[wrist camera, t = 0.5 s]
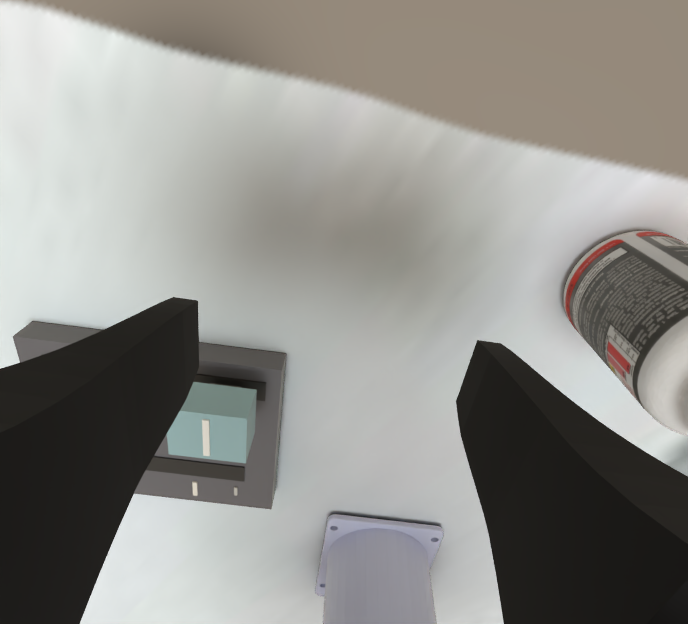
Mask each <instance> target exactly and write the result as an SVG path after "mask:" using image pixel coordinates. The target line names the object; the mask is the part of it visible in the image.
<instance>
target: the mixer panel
mask: <svg viewBox="0 0 688 624" xmlns="http://www.w3.org/2000/svg"><path fill="white" fill-rule="evenodd" d="M100 331H102V330H97V329H89V328H82V327H74V326H66V325H58V324H50V323H42V322H35V321H32V322H31V323H30V324H28V325H27V326H26V327H24V328H23V329H22V330H20V331H19V332H18V333H17V334H15V335H14V336H13V339H14V342H15V346H16V349H17V353H18V356H19V360H20V363H21V362H24V361H26V360H29V359H32V358H35V357H38V356H41V355H44V354H47V353H49V352H52V351H55V350H57V349H60V348H63V347H65V346H68V345H70V344H72V343H75V342H77V341H79V340H81V339H84V338H86V337H88V336H91V335H93V334H95V333H98V332H100ZM285 364H286V354H285V353H278V352H270V351H262V350H254V349H246V348H238V347H231V346H223V345H215V344H207V343H199V369H198V371H197V374H196V376H195V379H194V382H199V383H207V384H210V383H216V384H224V385H232V386H240V387H241V388H247V389H255V390H257V394H256V418H255V434H254V437H253V441H252V444H251V447H250V451H249V454H248V458H247V461H246V463H238V462H229V461H221V460H213V459H204V458H196V457H187V456H179V455H170V454H169V452H168V442H167V434H166V436H165V438H164V439H163V441H162V443H161V445H160V446H159V448H158V450H157V451H156V453H155V455H154V457H153V458H152V460H151V462H150V464H149V465H148V467H147V469H146V470H145V472H144V474H143V476H142V478H141V480H140V482H139V484H138V486H137V488H136V490H135V492H134V494H143V495H152V496H161V497H169V498H178V499H187V500H195V501H204V502H213V503H221V504H230V505H239V506H248V507H256V508H265V509H271V508H272V503H273V499H274V494H275V488H276V475H277V463H278V451H279V438H280V426H281V413H282V401H283V389H284V376H285Z"/></svg>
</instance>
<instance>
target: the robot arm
mask: <svg viewBox="0 0 688 624" xmlns="http://www.w3.org/2000/svg"><path fill="white" fill-rule="evenodd" d="M198 369H199V333H198V301H196V300H189V299H182V298H175V297H173V298H170V299H168V300H165V301H163V302H161V303H159V304H157V305H154V306H152V307H150V308H148V309H146V310H144V311H142V312H140V313H138V314H136V315H134V316H132V317H130V318H128V319H126V320H124V321H121V322H119V323H117V324H115V325H113V326H111V327H109V328H107V329H105V330H102V331H100V332H98V333H95V334H93V335H91V336H88V337H86V338H84V339H81V340H79V341H77V342H75V343H72V344H70V345H68V346H65V347H63V348H60V349H57V350H55V351H52V352H49V353H47V354H44V355H41V356H38V357H35V358H32V359H29V360H26V361H24V362H21V363H18V364H14V365H11V366H8V367H5V368H1V369H0V624H80V621H81V618H82V616H83V613H84V611H85V608H86V606H87V603H88V601H89V598H90V596H91V593H92V591H93V588H94V585H95V583H96V580H97V578H98V575H99V573H100V570H101V568H102V566H103V563H104V561H105V559H106V556H107V554H108V551H109V549H110V547H111V544H112V542H113V539H114V537H115V535H116V532H117V530H118V528H119V525H120V523H121V521H122V519H123V516H124V514H125V512H126V510H127V507H128V505H129V503H130V501H131V498H132V496H133V494H134V492H135V490H136V488H137V486H138V484H139V482H140V480H141V478H142V476H143V474H144V472H145V470H146V469H147V467H148V465H149V464H150V462H151V460H152V458H153V457H154V455H155V453H156V451H157V450H158V448H159V446H160V445H161V443H162V441H163V439H164V438H165V436H166V434H167V432H168V431H169V429H170V427H171V425H172V424H173V422H174V420H175V418H176V417H177V415H178V413H179V411H180V410H181V408H182V406H183V404H184V402H185V401H186V399H187V396H188V394H189V391H190V389H191V387H192V384H193V382H194V379H195V376H196V374H197V371H198ZM456 404H457V412H458V420H459V426H460V433H461V437H462V441H463V445H464V448H465V452H466V455H467V459H468V462H469V466H470V469H471V472H472V476H473V479H474V483H475V486H476V489H477V493H478V496H479V499H480V503H481V506H482V510H483V513H484V517H485V521H486V525H487V529H488V533H489V538H490V543H491V549H492V554H493V560H494V565H495V570H496V576H497V582H498V589H499V595H500V601H501V608H502V614H503V620H504V624H688V477H687V476H686V475H684V474H682V473H680V472H679V471H677V470H675V469H673V468H671V467H670V466H668V465H666V464H664V463H663V462H661V461H659V460H658V459H656V458H654V457H653V456H651V455H649V454H648V453H646V452H644V451H643V450H641V449H640V448H638V447H637V446H635V445H634V444H632V443H630V442H629V441H627V440H626V439H624V438H623V437H621V436H620V435H618V434H617V433H615V432H614V431H612V430H611V429H609V428H608V427H606V426H605V425H604V424H602V423H601V422H599V421H598V420H597V419H595V418H594V417H593V416H591V415H590V414H589V413H587V412H586V411H585V410H583V409H582V408H581V407H579V406H578V405H577V404H575V403H574V402H573V401H571V400H570V399H569V398H568V397H566V396H565V395H564V394H563V393H561V392H560V391H559V390H558V389H556V388H555V387H554V386H553V385H552V384H550V383H549V382H548V381H547V380H546V379H544V378H543V377H542V376H541V375H540V374H538V373H537V372H536V371H535V370H534V369H532V368H531V367H530V366H529V365H528V364H527V363H525V362H524V361H523V360H522V359H521V358H519V357H518V356H517V355H516V354H514V353H513V352H512V351H511V350H509V349H508V348H506V347H505V346H504V345H502V344H500V343H493V342H486V341H479V340H477V343H476V346H475V349H474V352H473V355H472V357H471V360H470V363H469V366H468V369H467V372H466V375H465V377H464V380H463V383H462V386H461V389H460V392H459V395H458V398H457V400H456ZM443 536H444V533H443V529H442V528H441V527H440V526H434V525H425V524H417V523H408V522H399V521H391V520H382V519H373V518H365V517H356V516H347V515H338V514H332V515H330V516H329V517H328V520H327V526H326V531H325V537H324V543H323V548H322V554H321V560H320V565H319V571H318V576H317V582H316V588H315V593H316V594H317V595H319V596H325V600H324V615H323V624H437V622H436V615H435V608H434V601H433V593H432V586H431V579H430V572H429V571H430V569H431V566H432V564H433V561H434V558H435V556H436V553H437V551H438V548H439V546H440V543H441V541H442V538H443Z"/></svg>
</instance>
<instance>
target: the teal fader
mask: <svg viewBox="0 0 688 624" xmlns="http://www.w3.org/2000/svg"><path fill="white" fill-rule="evenodd" d="M256 394H257V390H255V389H247V388H241V387H240V386H232V385H224V384H216V383H210V384H207V383H199V382H193V384H192V387H191V389H190V391H189V394H188V396H187V399H186V401H185V402H184V404H183V406H182V408H181V410H180V411H179V413H178V415H177V417H176V418H175V420H174V422H173V424H172V425H171V427H170V429H169V431H168V432H167V442H168V452H169V454H170V455H179V456H187V457H196V458H204V459H213V460H221V461H229V462H238V463H246V461H247V458H248V454H249V451H250V447H251V444H252V441H253V437H254V434H255V418H256Z"/></svg>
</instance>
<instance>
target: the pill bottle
mask: <svg viewBox="0 0 688 624" xmlns="http://www.w3.org/2000/svg"><path fill="white" fill-rule="evenodd" d="M564 308H565V312H566V315H567V317H568V319H569V321H570V322H571V324H572V325H573V327H574V328H575V329H576V330H577V331H578V332H579V333H580V335H581V336H582V337H583V338H584V339H585V340H586V342H587V343H588V344H589V345H590V346H591V347H592V348H593V350H594V351H595V352H596V353H597V354H598V355H599V357H600V358H601V359H602V360H603V361H604V362H605V364H606V365H607V366H608V367H609V368H610V369H611V371H612V372H613V373H614V374H615V375H616V376H617V378H618V379H619V380H620V381H621V382H622V383H623V385H624V386H625V387H626V388H627V389H628V390H629V391H630V393H631V394H632V395H633V396H634V397H635V398H636V400H637V401H638V402H639V403H640V404H641V406H642V407H643V408H644V409H645V410H646V411H647V412H648V413H649V414H650V415H651V416H652V417H653V418H654V419H655V420H656V421H658V422H659V423H660V424H662V425H663V426H665V427H667V428H668V429H670V430H672V431H675V432H677V433H680V434H683V435H686V436H688V244H686V243H684V242H682V241H680V240H678V239H677V238H674V237H672V236H669V235H667V234H664V233H660V232H655V231H634V232H628V233H624V234H620V235H617V236H614V237H612V238H610V239H608V240H606V241H604V242H602V243H600V244H598V245H597V246H595V247H594V248H593V249H591V250H590V251H589V252H588V253H587V254H585V255H584V256H583V257H582V258H581V260H580V261H579V262H578V263H577V264H576V266H575V267H574V268H573V270H572V272H571V273H570V275H569V277H568V280H567V282H566V286H565V290H564Z"/></svg>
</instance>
